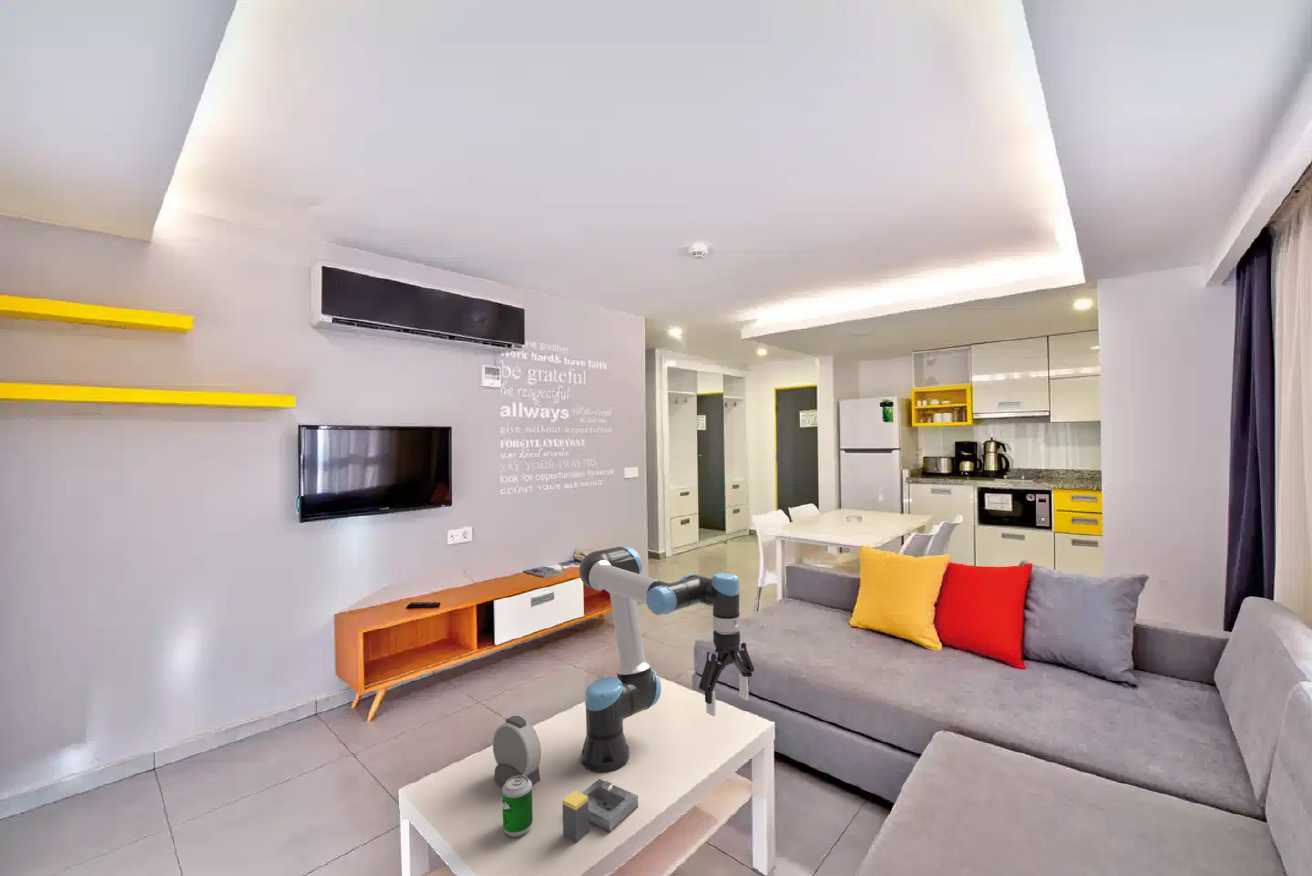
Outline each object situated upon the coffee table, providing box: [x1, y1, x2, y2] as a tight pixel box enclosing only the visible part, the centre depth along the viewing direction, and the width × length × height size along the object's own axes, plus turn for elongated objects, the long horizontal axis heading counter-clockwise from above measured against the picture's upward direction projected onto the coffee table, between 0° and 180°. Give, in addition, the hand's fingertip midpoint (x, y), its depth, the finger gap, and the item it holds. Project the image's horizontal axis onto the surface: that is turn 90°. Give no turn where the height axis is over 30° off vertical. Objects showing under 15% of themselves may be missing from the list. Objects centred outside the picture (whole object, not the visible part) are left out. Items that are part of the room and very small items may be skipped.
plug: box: [562, 790, 590, 844], centre depth 138 cm, size 5×5×9 cm
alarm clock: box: [492, 715, 542, 789], centre depth 162 cm, size 16×10×18 cm, turn 56°
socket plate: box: [581, 778, 639, 833], centre depth 147 cm, size 14×12×4 cm
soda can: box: [501, 775, 534, 838], centre depth 140 cm, size 8×8×12 cm
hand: (728, 706), depth 152 cm, fingers open, 13 cm apart
